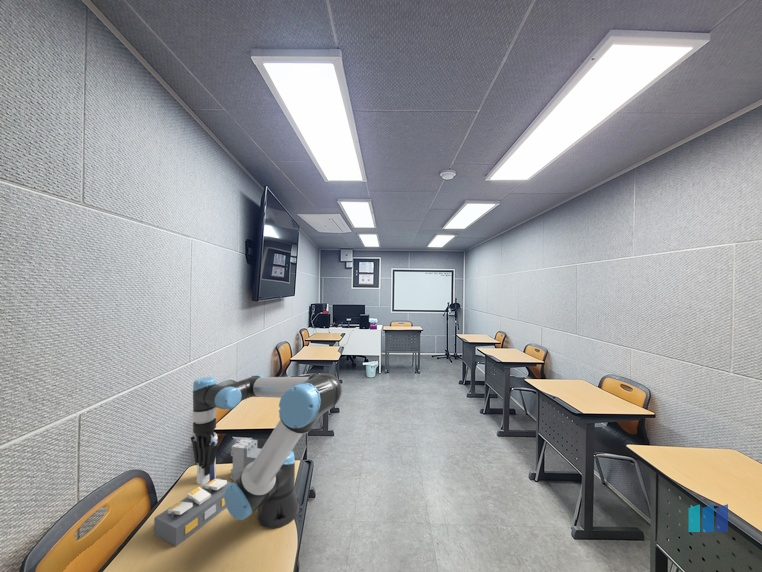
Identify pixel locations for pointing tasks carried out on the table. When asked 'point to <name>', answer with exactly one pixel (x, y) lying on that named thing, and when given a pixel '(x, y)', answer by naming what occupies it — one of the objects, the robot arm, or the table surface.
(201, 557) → the table surface
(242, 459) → the circuit breaker
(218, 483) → the rocker
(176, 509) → the rocker
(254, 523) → the table surface
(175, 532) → the panel
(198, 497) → the block
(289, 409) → the robot arm
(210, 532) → the table surface
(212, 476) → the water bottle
